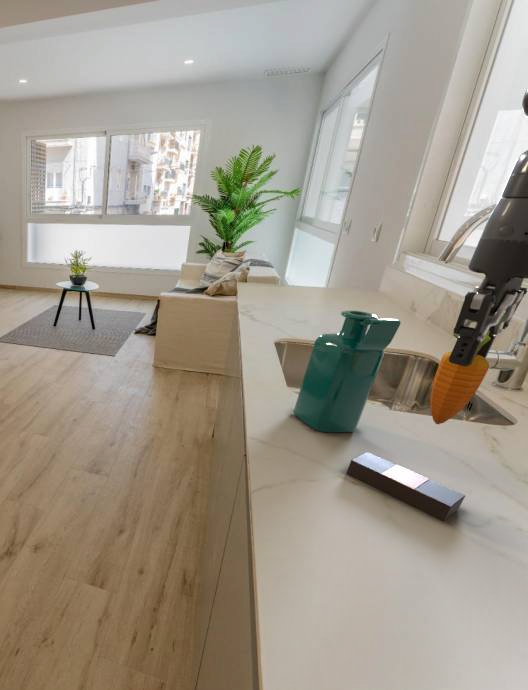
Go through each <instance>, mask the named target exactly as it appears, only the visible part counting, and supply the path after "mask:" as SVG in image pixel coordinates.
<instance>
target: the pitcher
mask: <svg viewBox="0 0 528 690" xmlns="http://www.w3.org/2000/svg"><path fill="white" fill-rule="evenodd" d="M340 315H341V316H342V317H344V321H343V324H342V327H341V329H340V331H338V332H332V333H331V332H329V333H322V334H321V335H319V336H318V337H317V338H316V339H315V341H314V343H313V347H312V349H311V353H310V357H309V360H308V363H307V367H306V370H305V373H304V377H303V380H302V382H301V386H300V389H299V392H298V396H297V399H296V401H295V406H294V409H293V414H294V416H295V417H296V418H298V419H299V420H301V421H302V422H304V423H305V424H306V425H307V426H309V427H310V428H311V429H313V430H316V431H318V432H320V433H321V432H322V433H353V432H356V430H357V428H358V425H359V423H360V420H361V417H362V415H363V411H364V409H365V406H366V404H367V401H368V399H369V396H370V393H371V390H372V388H373V385H374V382H375V380H376V377H377V375H378V372H379V369H380V367H381V364H382V362H383V359H384V357H385V349H386V348H388V346H389V345H390V344H391V343H392V341H393V339H394V337H395V335H397V332H398V330H399V328H400V325H401V321H400V320H399V319H397V318H379V317H378V316H377V315H376V314H374V313H371V312H366V311H360V310H351V309H350V310H343V311H341V312H340Z"/></svg>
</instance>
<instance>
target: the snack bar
mask: <svg viewBox="0 0 528 690" xmlns="http://www.w3.org/2000/svg"><path fill="white" fill-rule="evenodd" d="M346 474H348V475H349V476H350V477H354V478H355V479H357V480H359V481H361V482H364V483H365V484H367V485H370V486H371V487H373V488H375V489H377V490H379V491H381V492H382V493H383V492H384V493H386V494H387V495H390V496H392V497H393V498H396V499H398V500H400V501H402V502H403V503H405V504H408V505H410V506H412V507H414V508H415V509H418V510H420V511H422V512H424V513H426V514H428V515H430V516H432V517H434V518H436V519H438V520H439V521H442V522H445V521H446V520H447V519H448V518H450V517H451V516H452V515H453V514H455V513H456V512H457V511H459V509H460V507H461V505H462V503H463V501H464V500H465V497H466V495H465V494H463V493H462V492H458V491H456V490H454V489H452V488H449V487H448V486H445V485H443V484H440V483H438V482H436V481H434V480H432V479H430V478H429V477H426V476H424V475H422V474H420V473H417V472H415V471H413V470H411V469H409V468H407V467H405V466H402V465H400V464H396V463H393V462H391V461H389V460H387V459H384V458H382V457H380V456H377V455H375V454H373V453H370V452H369V451H366V452H364V453H362V454H360V455H358V456H357V457H354V458H353V459H351V460H350V463H349V465H348V467H347V470H346Z"/></svg>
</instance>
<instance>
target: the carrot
mask: <svg viewBox="0 0 528 690" xmlns="http://www.w3.org/2000/svg"><path fill="white" fill-rule="evenodd" d="M489 333H490V331H489V330H488V332H487V333H486V335H485V338H484V339H483V340H482V342H481V344H480V346H479V348H478V350H477V352H478V351H479V350H480V348H481V347H482V346H483V345H484V344H485V343H487V342H488V341H489V340H490V337H489V336H488V335H489ZM452 336H453V337H455V338H456V339H458V336H457V334H454V333H452ZM477 352H476V355H475V357H474V359H473V361H472V363H471V364H470V365H468V366H461V365H457V364H453V363H450V362H449V357H450V355H451V353H452V351H448V352H445V353H444V354H443V355H442V357H441V359H440V362H439V364H438V367H437V369H436V373H435V375H434V378H433V380H432V386H431V390H430V391H431V392H430V400H429V402H430V403H429V404H430V412H431V417H432V420H433V422H434V423H435V425H440V424H444V423H446V422H448V421H450V420H451V419H453V418H454V417H455V416H456V415H458V414H459V413H460V412H461V411H462V410H463V409H464V408H465V407H466V406H467V404H469V402H470V401H471V399H472V398H473V397H474V395H475V394H476V393H477V391H478V389H479V388H480V386H481V384H482V382H483V381H484V379H485V376H486V375H487V373H488V371H489V369H490V363H489V361H488V360H487V359H486V358H484V357H482V356H480V355H477Z"/></svg>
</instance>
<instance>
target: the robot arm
mask: <svg viewBox="0 0 528 690" xmlns="http://www.w3.org/2000/svg"><path fill="white" fill-rule="evenodd" d="M521 108H522V111H523V113H524V115H525V116H526V118H528V88H527V89H526V91H525V92H524V95H523V97H522V102H521ZM467 267H468V270H469V271H471V272H473V273H477V274H483V275H484V278H483V279H482V281H481V283H480V285H479V286H475V287H474V288H473V289H472V291H467V293H466V294H465V295H464V299H463V303H462V305H461V309H460V311H459V314H458V317H457V320H456V323H455V327H454V328H453V333H452V334H457V336H458V339H457V338H456V339H457V340H456V342H455V343H454V346H453V348H452V351H451V352H452V353H451V355H450V357H449V362H450V363H453V364H457V365H461V366H468V365H470V364H471V363H472V361H473V359H474V357H475V355H476V352H477V350H478V348H479V346H480V344H481V342H482V340H483V339H484V338H485V335H486V333H487V332H488V330H489V331H490V333H489V335H488V336H489V337H490V340H489V341H488V342H487V343H485V344H484V345H483V346H482V347H481V348H480V350H479V351H478V352H477V355H480V356H482V357H484V358H485V359H486V358H487V357H488V354H489V352H490V350H491V348H492V346H493V344H494V342H495V339H496V337H497V336H499V335H501V334H502V332H503V330H506V329H507V328H508V327H509V325H510V322H511V321H512V319H513V316H514V315H515V313H516V311H517V309H518V307H519V306H520V304H521V302H522V300H523V298H524V297H525V295H526V294H527V293H528V287H522V285H523V282H524V279H526V280H528V149H527V150H525V151H524V152H523V153H521V154H520V155H519V157H518V158H517V159H516V161H515V163H514V165H513V167H512V169H511V171H510V174H509V176H508V179H507V181H506V183H505V186H504V188H503V190H502V193H501V195H500V197H499V200H498V202H497V203H496V205H495V207H494V209H493V210H492V212H491V214H490V215H489V217H488V218H487V222H486V224H485V227H484V229H483V231H482V234H481V236H480V238H479V240H478V242H477V245H476V247H475V249H474V252H473V254H472V257H471V259H470V262H469V263H468V266H467ZM472 323H475V325H474V327H471V326H470V325H471V324H472Z"/></svg>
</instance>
